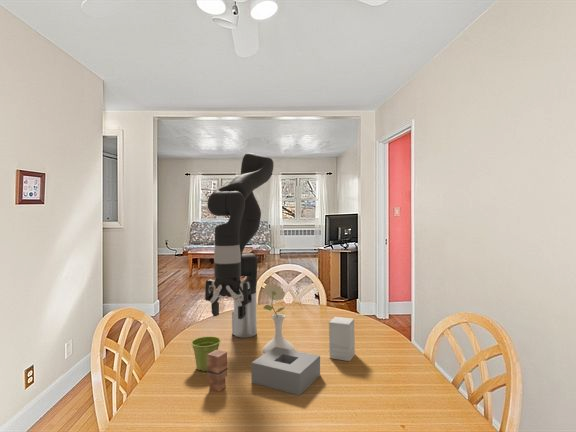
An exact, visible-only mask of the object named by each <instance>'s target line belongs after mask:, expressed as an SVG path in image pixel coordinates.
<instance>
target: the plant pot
mask: <svg viewBox="0 0 576 432" xmlns="http://www.w3.org/2000/svg"><path fill="white" fill-rule="evenodd" d="M221 342H222V340H221V338H220V337H217V336H209V335H208V336H202V337H201V336H200V337H197V338H194V339H192V341H191V342H190V344H191V346H192V349H193V352H194V357H195V358H194V359H195V365H196V370H198V371H202V372H207V354H209V353H211V352H213V351H215V350H219V347H220V343H221Z"/></svg>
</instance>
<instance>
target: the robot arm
mask: <svg viewBox="0 0 576 432" xmlns="http://www.w3.org/2000/svg"><path fill="white" fill-rule="evenodd" d="M273 171H274V161H273V159H272V158H271V157H269V156H266V155H262V154H257V153H252V152H246V153H245V154H244V156H243V157H242V161H241V167H240V174H239V175H238V176H235V177H234V178H233V179H232V180H231V181H230V182H229V183H228V184H227V185H223V186H222V187H220V188H218V189H216V190H214V191H213V192H212V193H211V194H210V195H209V197H208V198H207V199H208V200H207V209H208V211H209V212H210V214H211V215H213V216H217V217H229V219H228V221H227V222H226V223H221V224H218V225H216V226H215V227H214V251H213V252H214V253H213V266H214V269H213V271H214V273H213V275H214V278H215V279H214V278H210V279H208V280H205V292H204V293H205V294H204V299H205V301H207V302H208V301H209V302H210V304H211V307H210V308H211V314H212V316H213V317H217V316H219V315H220V302H219V300H220V299H221V298H222V297H228V298H232V299H233V310H232V312H231V331H232V332H231V335H234V337H236V338H239V339H240V338H241V339H243V338H244V339H245V338H247V339H248V338H253V337H255V336H256V335H257V331H258V330H257V329H258V328H257V323H258V322H257V310H258V309H257V285H258V282H257V281H258V258H257V256H256V254H255V253H252V252H251V253H250V252H248V253H243V252H244V250H245V248H246V246H247V245H248V243H249V242H250V241H251V240H252V239H253V238H254V237H255V235H256V234H257V233H258V231H259V228H260V225H261V217H262V211H261V208H260V204H259V202H258V200H257V198H256V196H255V195H254V192H253V191H255V190H256V189H258V188H260V187H261V186H262V185H264V184H266V183H267V182H269V180H270V179H271V177H272V175H273ZM241 277H245V279H244V280H242V281H241ZM214 288H215V290H214Z"/></svg>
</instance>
